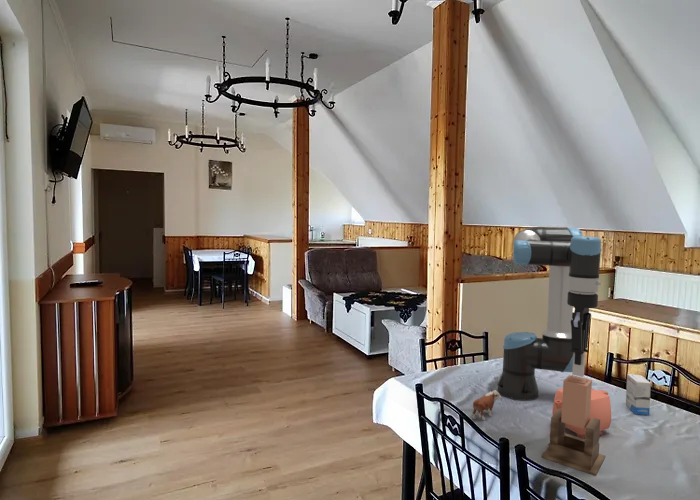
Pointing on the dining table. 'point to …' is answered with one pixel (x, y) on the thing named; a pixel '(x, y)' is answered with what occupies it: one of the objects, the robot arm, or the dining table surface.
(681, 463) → the dining table surface
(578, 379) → the block
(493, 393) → the bull figurine
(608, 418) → the teapot
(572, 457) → the wooden slotted stand
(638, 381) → the ink box
